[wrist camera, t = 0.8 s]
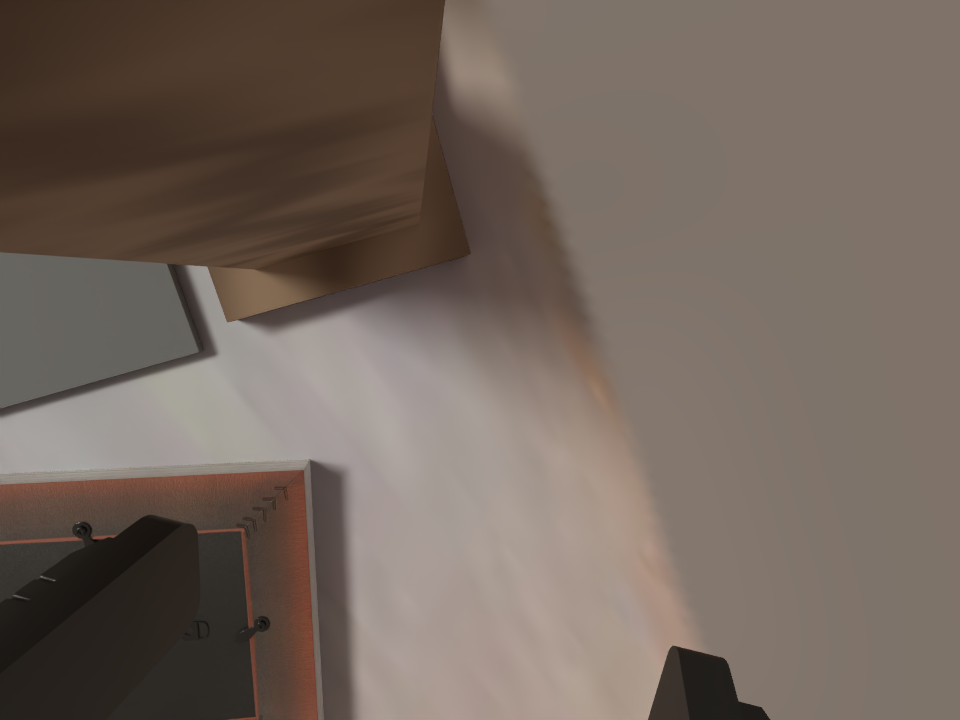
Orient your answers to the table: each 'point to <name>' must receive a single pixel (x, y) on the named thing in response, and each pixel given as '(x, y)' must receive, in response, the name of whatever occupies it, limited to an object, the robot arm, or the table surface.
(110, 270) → the rubber mat
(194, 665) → the picture frame
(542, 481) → the table surface
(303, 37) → the walnut stand
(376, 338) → the table surface
